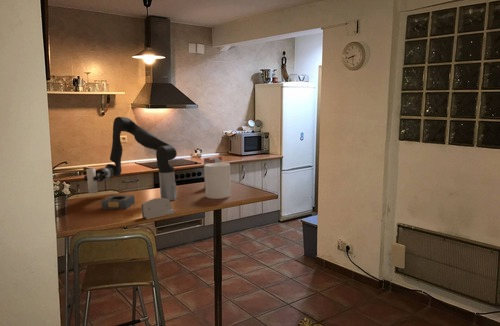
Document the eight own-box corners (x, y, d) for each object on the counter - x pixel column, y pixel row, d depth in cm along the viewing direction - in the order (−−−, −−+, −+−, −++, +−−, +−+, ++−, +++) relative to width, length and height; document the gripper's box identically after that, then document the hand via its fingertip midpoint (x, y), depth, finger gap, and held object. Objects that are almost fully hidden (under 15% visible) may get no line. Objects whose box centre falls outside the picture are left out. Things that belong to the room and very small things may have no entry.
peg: (99, 191, 242) (96, 168, 241) (95, 193, 237) (92, 169, 236) (91, 191, 243) (88, 168, 241) (87, 193, 238) (84, 169, 236)
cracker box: (211, 188, 279) (209, 158, 276) (204, 187, 283) (202, 158, 280) (223, 184, 291) (222, 155, 288) (216, 184, 294) (215, 155, 291)
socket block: (134, 203, 243) (134, 195, 242) (125, 209, 228) (125, 200, 228) (112, 203, 244) (111, 195, 243) (101, 209, 230) (101, 201, 229)
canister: (203, 194, 261) (202, 163, 258) (227, 192, 265) (226, 161, 263) (208, 199, 246) (207, 167, 243) (234, 197, 250) (232, 165, 248)
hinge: (146, 219, 206) (141, 200, 207) (142, 220, 210) (138, 202, 211) (175, 213, 216) (171, 195, 218) (171, 214, 220) (167, 196, 221)
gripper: (90, 168, 253) (77, 173, 236) (112, 167, 252) (100, 172, 235) (91, 180, 254) (78, 185, 237) (113, 179, 253) (102, 185, 236)
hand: (89, 179), depth 236 cm, fingers closed on peg, 5 cm apart
